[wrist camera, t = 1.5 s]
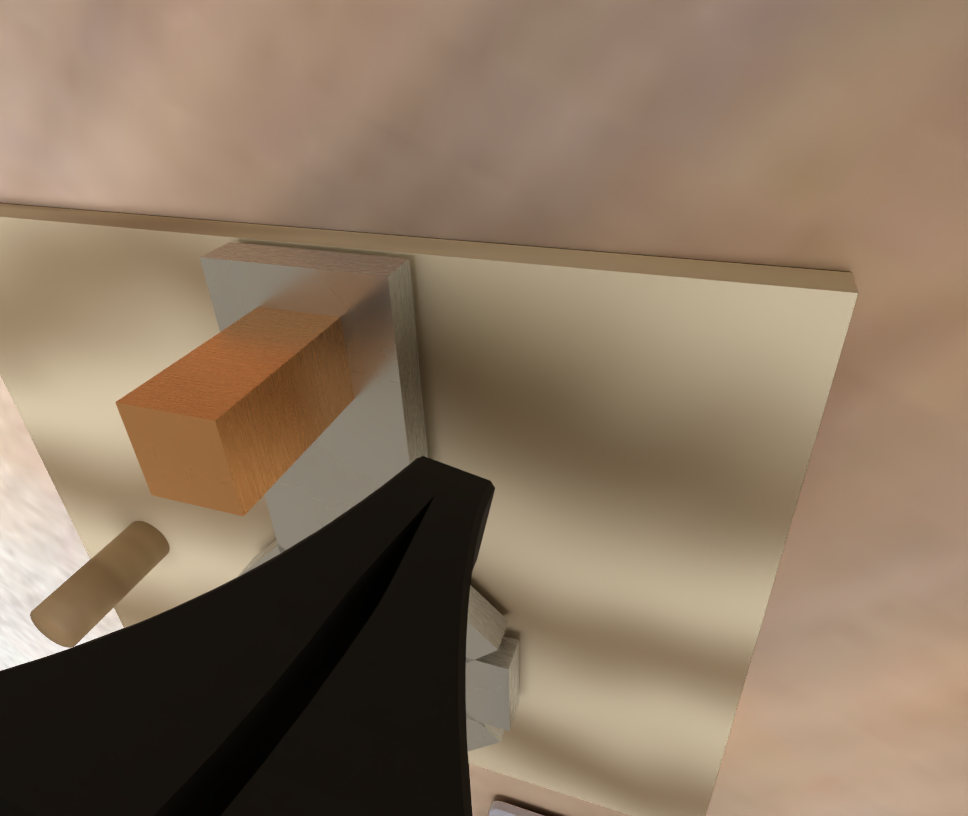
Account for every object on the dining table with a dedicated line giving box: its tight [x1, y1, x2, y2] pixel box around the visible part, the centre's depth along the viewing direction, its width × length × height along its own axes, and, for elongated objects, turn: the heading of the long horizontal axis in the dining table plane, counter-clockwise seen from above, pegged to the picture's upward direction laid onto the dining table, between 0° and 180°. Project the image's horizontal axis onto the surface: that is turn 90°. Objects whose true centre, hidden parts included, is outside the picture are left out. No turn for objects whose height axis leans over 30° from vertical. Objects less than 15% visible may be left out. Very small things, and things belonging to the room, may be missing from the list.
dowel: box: [30, 521, 170, 647], centre depth 21 cm, size 2×2×4 cm
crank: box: [115, 242, 519, 751], centre depth 17 cm, size 17×9×5 cm, turn 2°
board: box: [0, 203, 858, 816], centre depth 20 cm, size 19×23×1 cm
